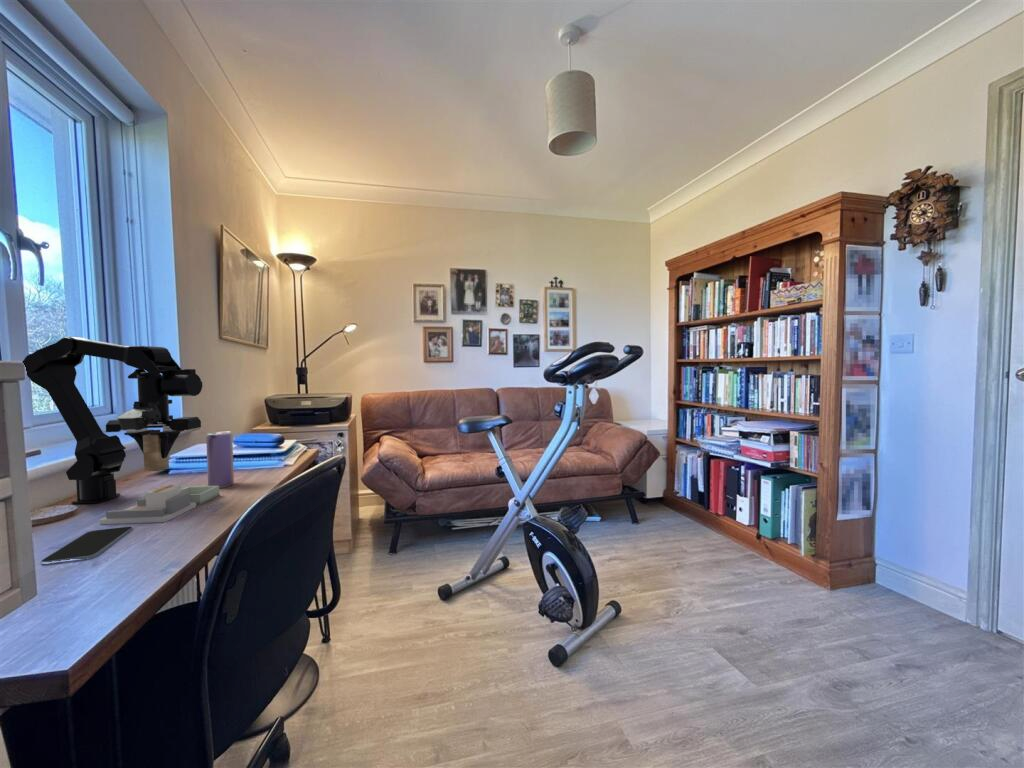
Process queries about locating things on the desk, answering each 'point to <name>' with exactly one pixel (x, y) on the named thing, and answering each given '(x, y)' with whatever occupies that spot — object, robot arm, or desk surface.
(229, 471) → the beverage can
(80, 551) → the smartphone
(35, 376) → the robot arm
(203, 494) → the holder
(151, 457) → the tan rectangular block
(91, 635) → the desk surface
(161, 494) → the breaker
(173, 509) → the panel
